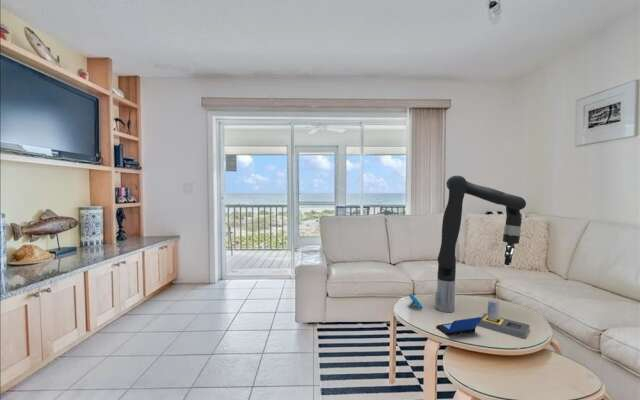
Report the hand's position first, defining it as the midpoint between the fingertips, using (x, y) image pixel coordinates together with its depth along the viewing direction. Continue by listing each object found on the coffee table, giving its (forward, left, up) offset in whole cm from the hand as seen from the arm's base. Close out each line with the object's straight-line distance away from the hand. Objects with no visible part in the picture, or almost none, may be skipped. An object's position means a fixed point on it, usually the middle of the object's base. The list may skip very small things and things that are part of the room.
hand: (507, 263), depth 168 cm
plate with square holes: (+2, -18, -28) cm, 34 cm away
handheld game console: (-13, -38, -29) cm, 49 cm away
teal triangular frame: (-41, -23, -28) cm, 55 cm away
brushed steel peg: (-2, -18, -28) cm, 34 cm away
